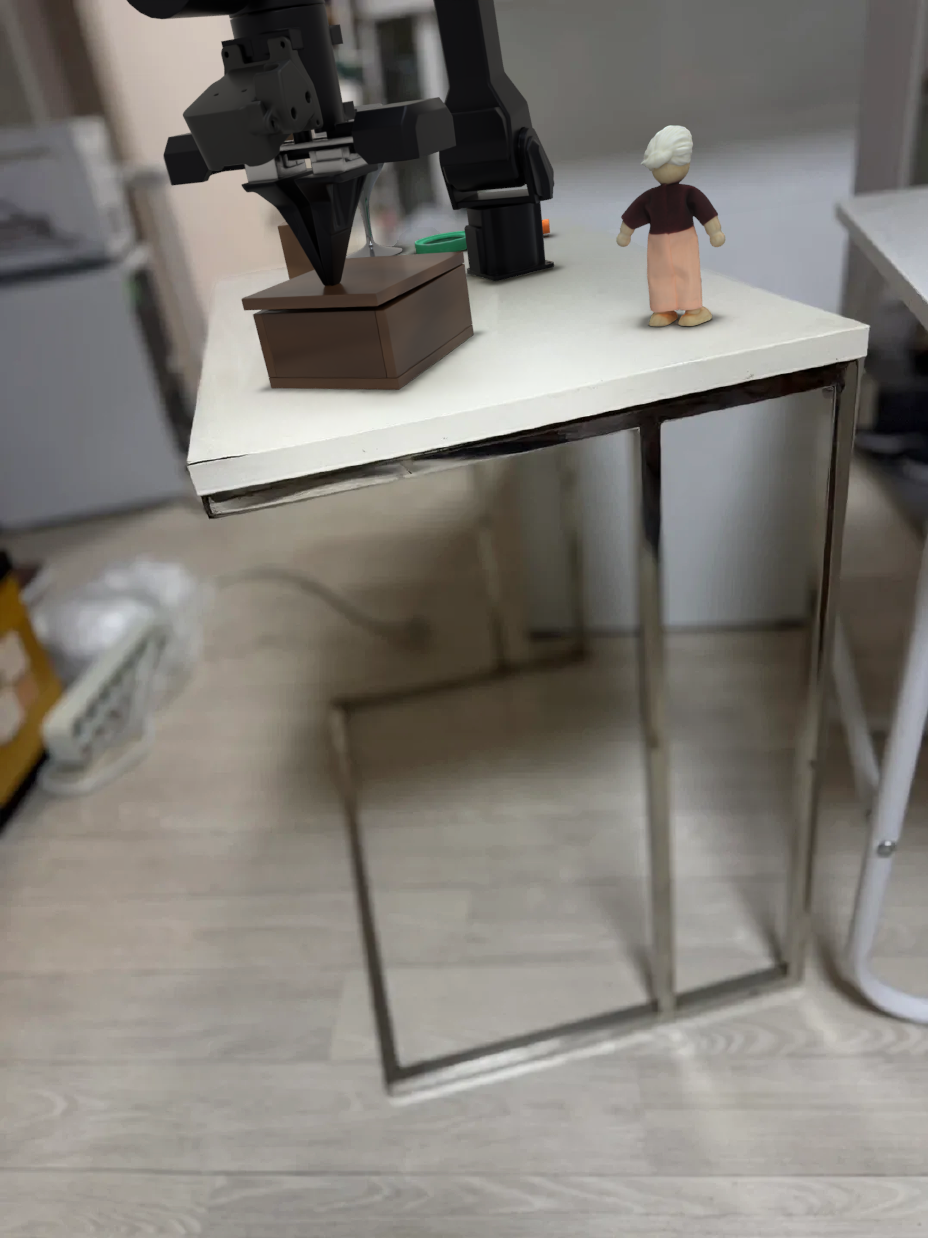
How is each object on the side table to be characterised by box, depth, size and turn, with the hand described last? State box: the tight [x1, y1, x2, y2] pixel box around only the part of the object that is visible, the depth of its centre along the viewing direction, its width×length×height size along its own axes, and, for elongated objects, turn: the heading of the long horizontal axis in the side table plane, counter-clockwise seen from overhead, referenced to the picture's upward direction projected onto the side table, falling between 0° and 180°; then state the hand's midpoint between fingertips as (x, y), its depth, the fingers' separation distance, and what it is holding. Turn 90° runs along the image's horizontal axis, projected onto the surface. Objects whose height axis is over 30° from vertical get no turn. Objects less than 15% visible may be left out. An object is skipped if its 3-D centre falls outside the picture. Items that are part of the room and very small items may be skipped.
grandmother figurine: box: [615, 125, 726, 327], centre depth 64 cm, size 8×4×13 cm, turn 71°
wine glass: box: [312, 102, 403, 258], centre depth 103 cm, size 8×8×15 cm
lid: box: [240, 251, 465, 311], centre depth 65 cm, size 13×11×1 cm
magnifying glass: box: [414, 218, 551, 254], centre depth 103 cm, size 15×6×2 cm, turn 87°
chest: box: [252, 263, 475, 391], centre depth 67 cm, size 13×11×5 cm
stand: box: [277, 220, 314, 280], centre depth 90 cm, size 3×3×7 cm
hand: (332, 284), depth 63 cm, fingers closed, pressing on lid
